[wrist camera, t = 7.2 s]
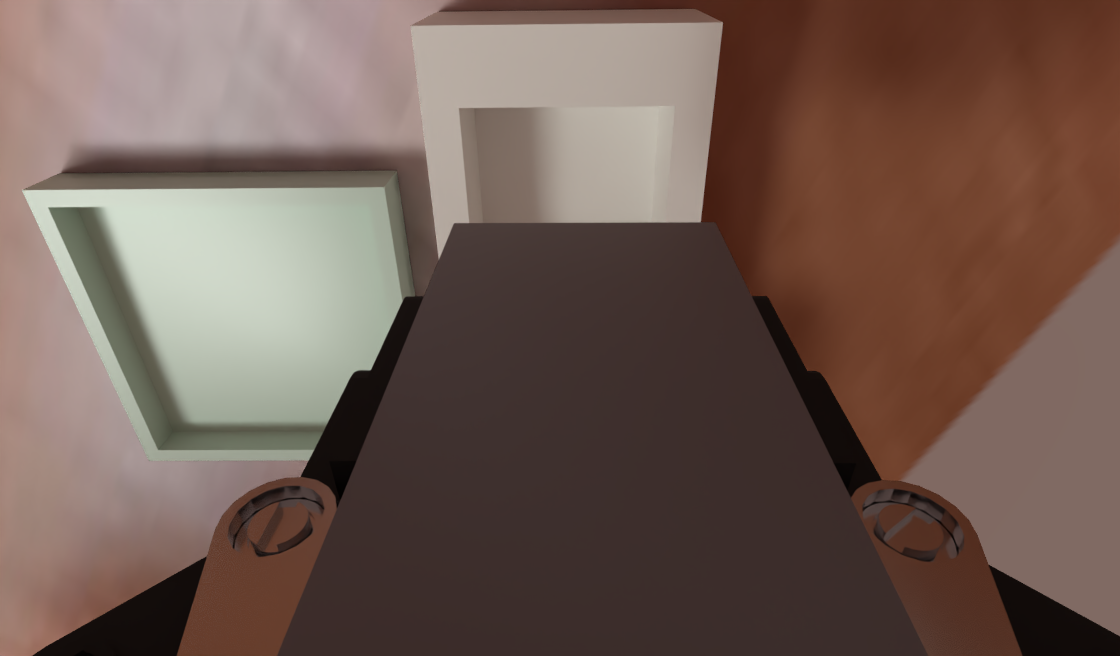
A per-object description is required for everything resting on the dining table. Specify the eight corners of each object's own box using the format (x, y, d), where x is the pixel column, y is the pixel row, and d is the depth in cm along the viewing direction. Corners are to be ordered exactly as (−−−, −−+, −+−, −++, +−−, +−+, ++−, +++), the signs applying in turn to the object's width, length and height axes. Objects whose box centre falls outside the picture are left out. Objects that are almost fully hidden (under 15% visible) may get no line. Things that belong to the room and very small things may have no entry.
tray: (171, 433, 29) (149, 460, 27) (59, 173, 22) (22, 189, 21) (435, 432, 28) (427, 460, 27) (396, 170, 22) (384, 187, 21)
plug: (453, 222, 11) (103, 1078, 3) (715, 221, 11) (1149, 1103, 3) (475, 422, 13) (320, 1195, 5) (689, 423, 13) (875, 1209, 5)
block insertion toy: (484, 480, 30) (449, 712, 21) (437, 11, 20) (327, 68, 11) (652, 479, 30) (690, 712, 21) (695, 8, 19) (808, 63, 10)
